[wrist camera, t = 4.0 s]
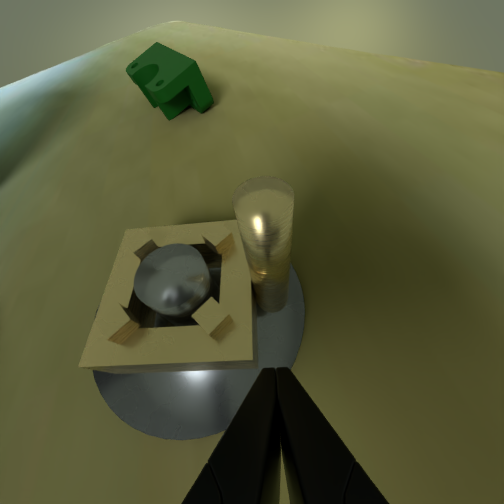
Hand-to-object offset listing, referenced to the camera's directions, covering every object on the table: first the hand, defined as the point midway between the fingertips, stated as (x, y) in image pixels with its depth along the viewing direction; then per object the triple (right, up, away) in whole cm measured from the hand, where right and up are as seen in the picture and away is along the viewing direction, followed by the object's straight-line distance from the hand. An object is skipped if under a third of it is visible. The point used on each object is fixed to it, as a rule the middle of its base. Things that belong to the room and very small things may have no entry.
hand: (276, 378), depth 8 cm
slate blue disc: (-4, 0, +9) cm, 10 cm away
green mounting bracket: (-12, +25, +26) cm, 38 cm away
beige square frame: (-3, +1, +7) cm, 8 cm away
